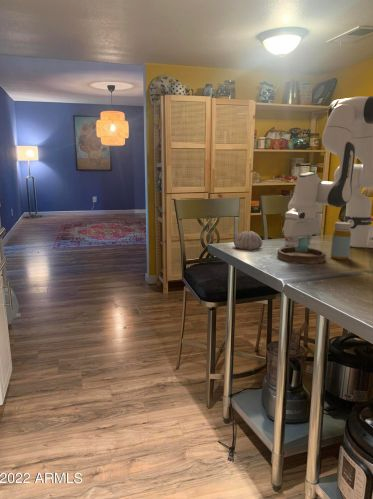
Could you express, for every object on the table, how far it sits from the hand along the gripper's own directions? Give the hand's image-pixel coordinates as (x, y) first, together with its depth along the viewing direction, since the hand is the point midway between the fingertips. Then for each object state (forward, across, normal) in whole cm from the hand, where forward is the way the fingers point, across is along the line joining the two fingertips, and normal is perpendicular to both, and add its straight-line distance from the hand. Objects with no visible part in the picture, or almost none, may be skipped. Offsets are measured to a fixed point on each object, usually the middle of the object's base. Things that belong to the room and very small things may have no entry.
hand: (301, 246), depth 159 cm
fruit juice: (+5, -19, -18) cm, 27 cm away
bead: (+2, 0, 0) cm, 2 cm away
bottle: (+5, -14, +9) cm, 18 cm away
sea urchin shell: (+6, +4, -27) cm, 28 cm away
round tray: (+5, 0, 0) cm, 5 cm away
